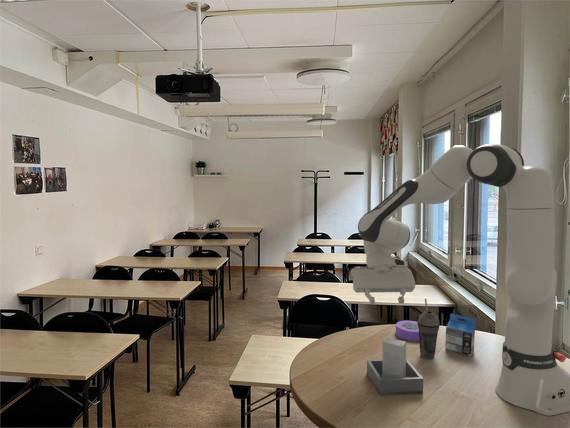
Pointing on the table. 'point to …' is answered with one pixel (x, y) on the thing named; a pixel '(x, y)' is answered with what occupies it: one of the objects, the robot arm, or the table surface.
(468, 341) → the label tape cartridge
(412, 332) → the masking tape
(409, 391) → the box
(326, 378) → the table surface
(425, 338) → the beverage cup
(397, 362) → the skincare box
